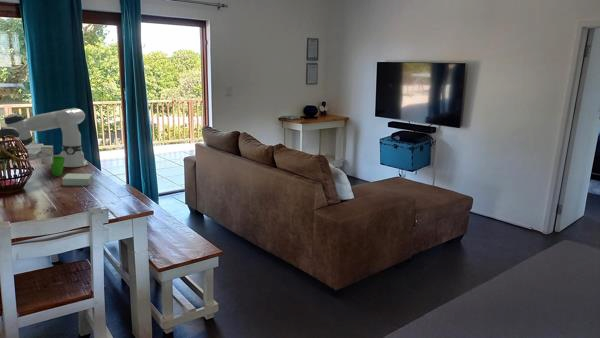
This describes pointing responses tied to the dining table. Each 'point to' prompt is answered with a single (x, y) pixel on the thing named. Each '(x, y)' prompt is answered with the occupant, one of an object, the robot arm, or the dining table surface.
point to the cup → (57, 165)
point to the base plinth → (77, 179)
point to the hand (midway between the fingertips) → (48, 154)
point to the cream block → (48, 154)
